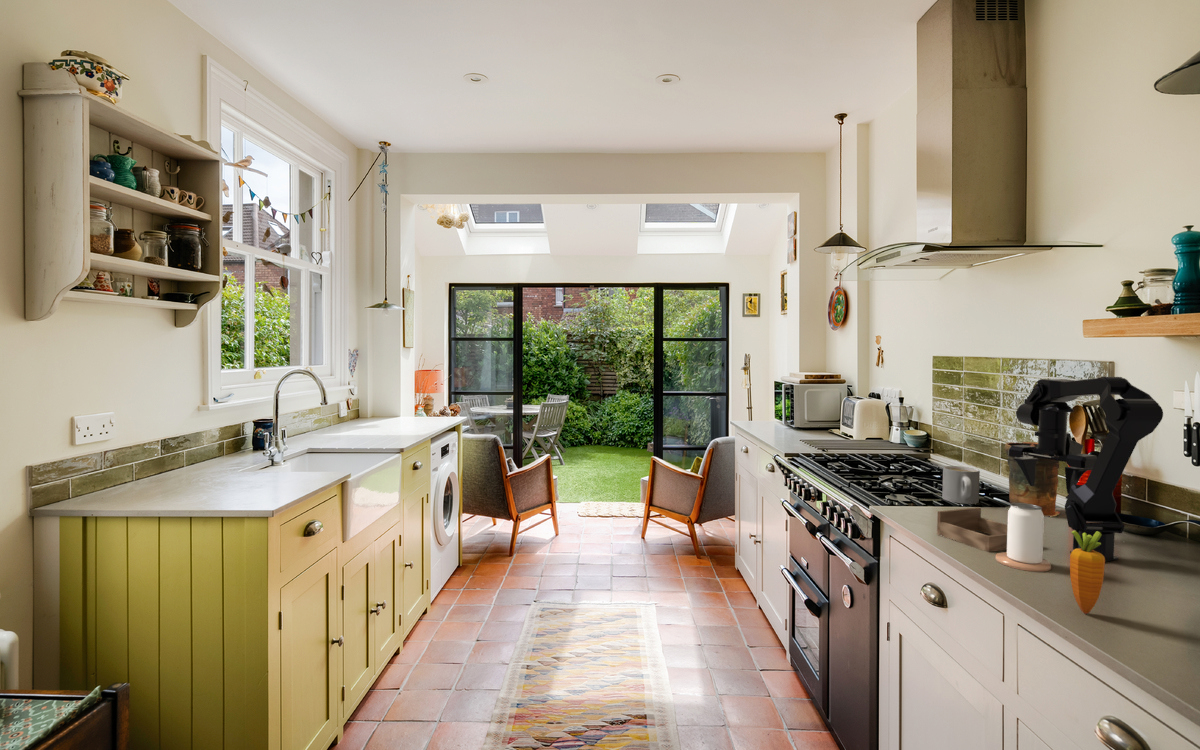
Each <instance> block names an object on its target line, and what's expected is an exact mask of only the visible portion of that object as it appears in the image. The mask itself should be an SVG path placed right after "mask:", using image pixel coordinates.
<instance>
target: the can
mask: <svg viewBox="0 0 1200 750" xmlns="http://www.w3.org/2000/svg"><path fill="white" fill-rule="evenodd" d="M1041 509H1042V508H1041V507H1039V506H1036V505H1032V504H1026V503H1011V507H1010V508H1009V510H1008V511H1007V525H1008V527H1007V549H1006V552H1007V556H1008V558H1009V559H1011V560H1013V561H1016V562H1019V563H1024V564H1040V563H1041V562H1042V559H1044V558H1043V554H1044V553H1043V551H1044V526H1045V523H1044V521H1045V517H1044V515H1043V513H1042V511H1041Z"/></svg>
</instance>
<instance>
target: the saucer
mask: <svg viewBox="0 0 1200 750" xmlns="http://www.w3.org/2000/svg"><path fill="white" fill-rule="evenodd" d="M995 561H996V562H997V563H999V564H1001V565H1004V566H1006V567H1009V568H1012V569H1017V570H1020V571H1025V572H1026V571H1028V572H1037V573H1038V572H1039V573H1041V572H1049V571H1050V570H1051V569H1052V564H1051V562H1050V561H1048V560H1046V559H1044V558H1042V562H1041V563H1040V564H1024V563H1019V562H1016V561H1013V560H1011V559H1009V558H1008V556H1007V551H1006V552H1003V551H1002V552H998V553H996V554H995Z"/></svg>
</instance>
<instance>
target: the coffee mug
mask: <svg viewBox="0 0 1200 750" xmlns="http://www.w3.org/2000/svg"><path fill="white" fill-rule="evenodd" d="M980 472H981V471H980V470H979V469H977V468H974V467H971V466H970V467H969V466H960V465H946V466H945V465H944V466H943V469H942V496H941V497H942V499H943V500H944V501H948V502H952V503H957V504H958V503H959V504H968V505H969V504H971V505H975V504H979V502H980V501H979V500H980V475H981V473H980Z"/></svg>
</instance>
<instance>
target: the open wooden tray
mask: <svg viewBox="0 0 1200 750" xmlns="http://www.w3.org/2000/svg"><path fill="white" fill-rule="evenodd" d="M981 516H982V508H981V507H979V506H977V507H967V508H966V507H965V508H958V509H947V510H938V511H937V523H936V525H937V526H936V528H937V529H936V535H937V534H938V536H940V535H942V536H941V537H943V536H944V537H943V538H946V537H947V538H946V539H949V538H950V539H949V540H952V539H953V540H952V541H955V540H956V541H955V542H957V543H960V544H963V543H964V545H966V546H970V547H973V548H976V549H979V550H981V551H984V552H986V553H987V552H988V553H990V552H991V553H992V552H997V551H1004V550H1006V551H1007V527H1008V524H1005V523H1001V522H1000V521H998V522H997V521H994V520H991V519H988V518H984V517H981ZM987 534H988V535H987Z"/></svg>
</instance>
